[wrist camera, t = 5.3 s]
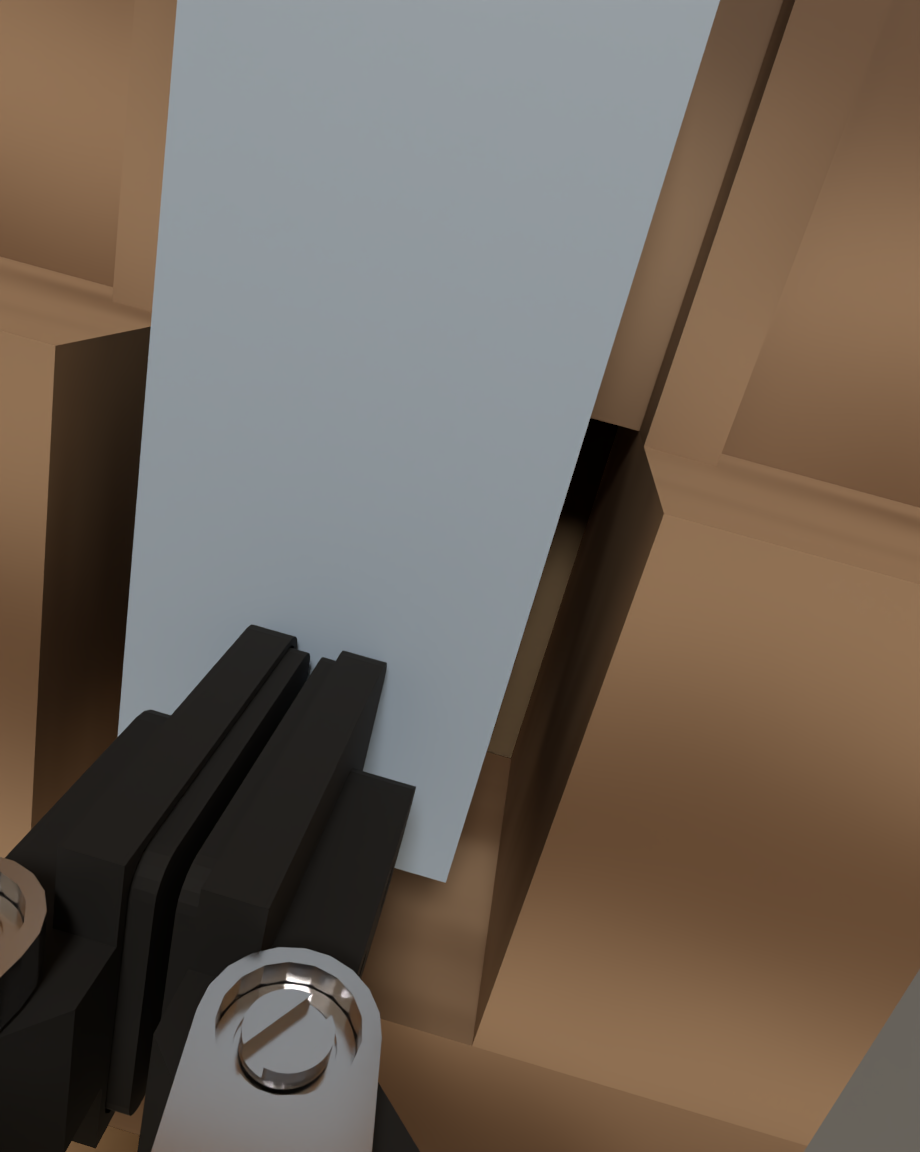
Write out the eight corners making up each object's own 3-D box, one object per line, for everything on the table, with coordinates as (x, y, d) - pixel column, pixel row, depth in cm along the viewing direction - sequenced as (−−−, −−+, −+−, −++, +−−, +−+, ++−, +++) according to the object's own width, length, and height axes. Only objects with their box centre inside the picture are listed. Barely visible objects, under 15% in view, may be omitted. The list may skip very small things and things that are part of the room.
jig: (64, -764, 11) (-726, -2299, 4) (1324, -470, 10) (2614, -1704, 4) (9, 763, 20) (-263, 1012, 14) (663, 954, 20) (704, 1307, 13)
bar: (358, -246, 10) (220, -522, 6) (741, -150, 10) (836, -373, 6) (232, 642, 15) (113, 785, 11) (482, 714, 14) (445, 883, 11)
